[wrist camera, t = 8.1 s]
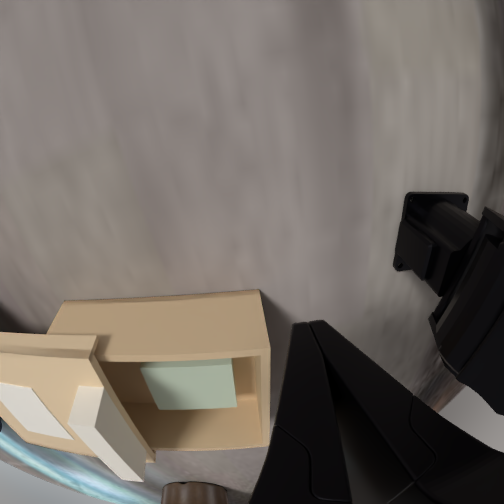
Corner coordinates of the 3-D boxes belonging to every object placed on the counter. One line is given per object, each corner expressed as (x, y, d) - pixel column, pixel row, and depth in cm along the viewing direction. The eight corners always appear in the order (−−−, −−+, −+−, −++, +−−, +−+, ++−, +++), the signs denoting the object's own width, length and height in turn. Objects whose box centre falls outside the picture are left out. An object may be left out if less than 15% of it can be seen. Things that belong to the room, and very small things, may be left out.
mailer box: (259, 289, 23) (270, 347, 18) (261, 396, 30) (269, 445, 25) (64, 300, 22) (37, 351, 17) (115, 400, 29) (106, 446, 24)
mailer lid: (96, 335, 18) (74, 401, 13) (156, 444, 25) (153, 491, 21) (-46, 327, 17) (-72, 368, 12) (30, 428, 24) (20, 464, 20)
